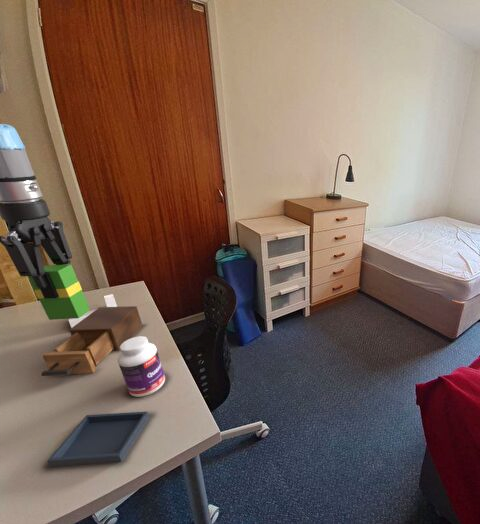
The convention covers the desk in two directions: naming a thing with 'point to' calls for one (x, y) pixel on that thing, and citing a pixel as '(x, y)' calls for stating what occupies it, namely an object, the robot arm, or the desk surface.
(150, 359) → the pill bottle
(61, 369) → the drawer
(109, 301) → the bracket
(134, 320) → the cabinet
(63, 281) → the yellow-banded green block
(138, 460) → the desk surface
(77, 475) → the desk surface
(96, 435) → the tray
